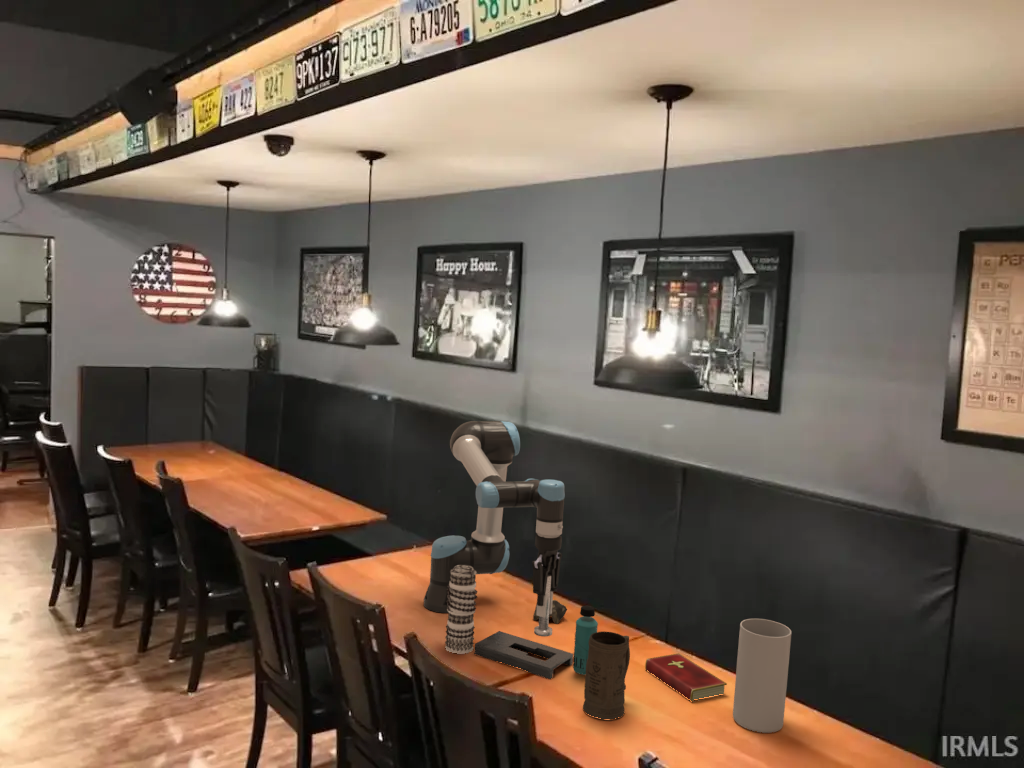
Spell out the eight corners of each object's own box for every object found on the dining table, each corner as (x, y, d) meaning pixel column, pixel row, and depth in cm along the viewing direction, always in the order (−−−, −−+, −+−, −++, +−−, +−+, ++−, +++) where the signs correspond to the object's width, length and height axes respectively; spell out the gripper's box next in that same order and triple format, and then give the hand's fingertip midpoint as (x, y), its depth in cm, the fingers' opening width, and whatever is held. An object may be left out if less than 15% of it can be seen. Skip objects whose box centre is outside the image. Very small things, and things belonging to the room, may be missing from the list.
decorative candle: (437, 647, 246) (441, 566, 243) (459, 639, 252) (464, 560, 250) (458, 657, 239) (462, 574, 237) (480, 649, 246) (485, 568, 244)
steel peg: (530, 633, 236) (533, 575, 234) (540, 628, 240) (543, 571, 239) (546, 637, 233) (549, 579, 232) (555, 632, 237) (558, 575, 236)
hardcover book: (690, 704, 219) (692, 689, 219) (644, 671, 238) (645, 657, 238) (725, 697, 225) (726, 682, 224) (677, 665, 243) (678, 652, 243)
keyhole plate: (474, 654, 242) (474, 643, 242) (498, 640, 253) (499, 630, 253) (550, 679, 228) (550, 668, 228) (572, 664, 239) (573, 653, 239)
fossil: (567, 612, 280) (568, 592, 274) (564, 633, 272) (565, 613, 266) (535, 608, 281) (536, 587, 275) (531, 629, 273) (532, 608, 268)
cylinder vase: (754, 737, 202) (762, 639, 200) (722, 714, 214) (730, 621, 212) (793, 730, 207) (802, 634, 205) (760, 707, 219) (768, 616, 217)
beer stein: (612, 726, 204) (620, 647, 203) (574, 713, 209) (581, 636, 209) (636, 707, 217) (644, 633, 216) (600, 695, 222) (607, 623, 222)
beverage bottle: (597, 673, 234) (602, 605, 233) (591, 682, 228) (596, 612, 226) (575, 668, 236) (579, 601, 235) (569, 677, 230) (573, 608, 228)
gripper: (546, 542, 226) (541, 625, 227) (573, 531, 239) (568, 610, 241) (523, 537, 230) (518, 618, 231) (551, 527, 243) (546, 604, 245)
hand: (544, 614), depth 236 cm, fingers closed on steel peg, 3 cm apart
